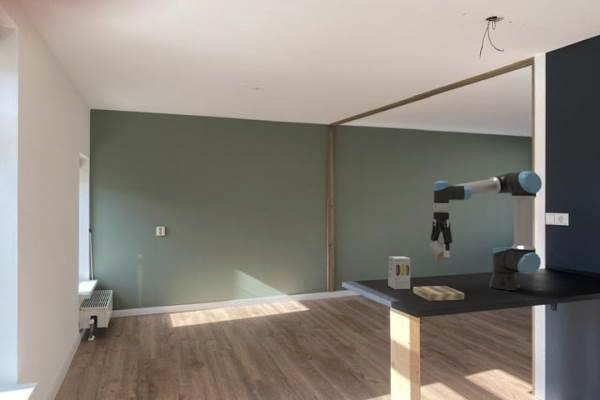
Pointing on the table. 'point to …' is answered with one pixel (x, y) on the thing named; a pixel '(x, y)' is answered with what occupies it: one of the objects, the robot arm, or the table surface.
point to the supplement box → (399, 272)
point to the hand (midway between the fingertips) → (441, 255)
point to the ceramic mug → (437, 250)
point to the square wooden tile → (438, 293)
